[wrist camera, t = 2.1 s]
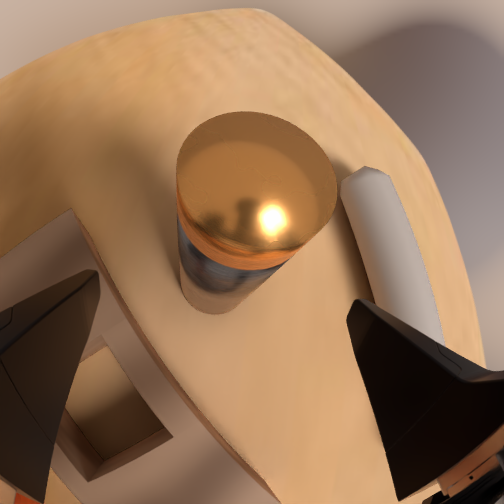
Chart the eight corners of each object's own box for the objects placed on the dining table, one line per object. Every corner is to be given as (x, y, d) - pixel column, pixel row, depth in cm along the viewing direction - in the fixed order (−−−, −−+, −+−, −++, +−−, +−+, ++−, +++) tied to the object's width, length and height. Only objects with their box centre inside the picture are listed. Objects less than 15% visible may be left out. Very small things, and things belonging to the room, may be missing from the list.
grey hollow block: (264, 481, 15) (282, 505, 12) (158, 537, 12) (156, 566, 8) (88, 233, 19) (71, 208, 15) (-5, 299, 15) (-34, 287, 11)
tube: (335, 161, 21) (414, 470, 14) (392, 151, 21) (469, 439, 14) (326, 192, 26) (391, 448, 19) (375, 182, 26) (440, 425, 19)
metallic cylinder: (260, 290, 20) (364, 199, 8) (205, 327, 18) (243, 284, 6) (222, 237, 21) (273, 98, 9) (167, 271, 19) (147, 144, 7)
